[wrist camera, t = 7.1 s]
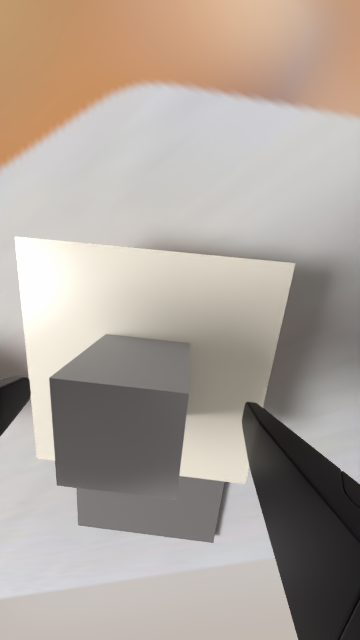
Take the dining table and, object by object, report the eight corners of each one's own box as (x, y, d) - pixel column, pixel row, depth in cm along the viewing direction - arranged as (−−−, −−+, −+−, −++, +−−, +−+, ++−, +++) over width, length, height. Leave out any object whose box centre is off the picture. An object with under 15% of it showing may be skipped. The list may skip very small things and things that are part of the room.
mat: (233, 422, 17) (234, 428, 16) (212, 534, 20) (213, 542, 19) (77, 404, 17) (73, 409, 16) (81, 517, 20) (78, 525, 20)
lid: (286, 263, 9) (384, 258, 5) (242, 470, 12) (273, 594, 8) (29, 239, 10) (-125, 211, 5) (46, 446, 13) (-39, 551, 8)
